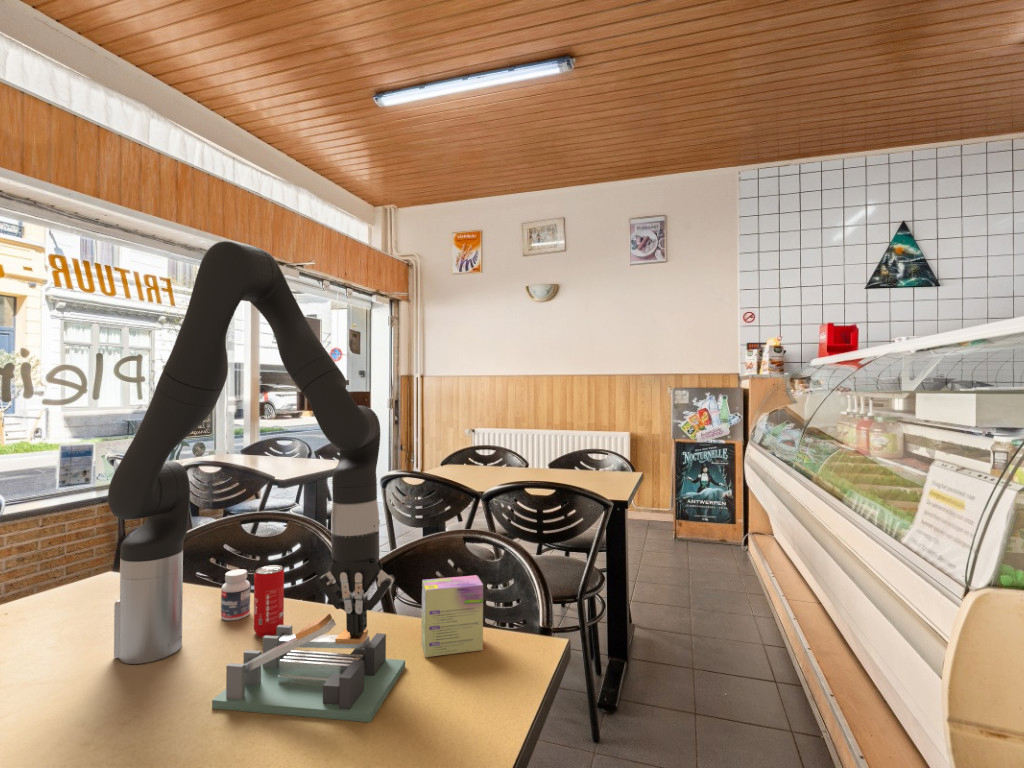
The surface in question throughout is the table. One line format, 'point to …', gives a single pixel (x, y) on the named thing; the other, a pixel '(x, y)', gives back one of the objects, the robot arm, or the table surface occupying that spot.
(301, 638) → the lever near
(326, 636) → the lever far
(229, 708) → the socket board
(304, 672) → the heatsink block
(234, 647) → the table surface
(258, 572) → the beverage can
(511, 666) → the table surface
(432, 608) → the box
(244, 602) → the pill bottle
